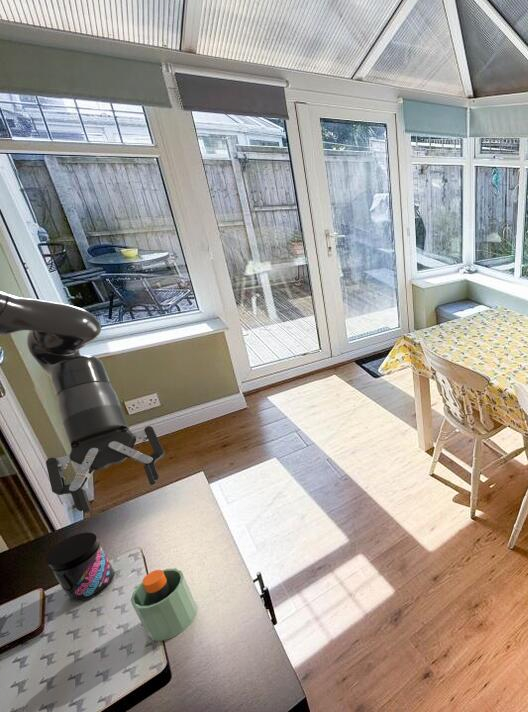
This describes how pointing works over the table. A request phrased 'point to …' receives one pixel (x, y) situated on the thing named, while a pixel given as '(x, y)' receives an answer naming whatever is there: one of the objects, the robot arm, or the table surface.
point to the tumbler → (166, 608)
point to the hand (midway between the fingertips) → (122, 497)
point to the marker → (156, 586)
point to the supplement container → (80, 566)
